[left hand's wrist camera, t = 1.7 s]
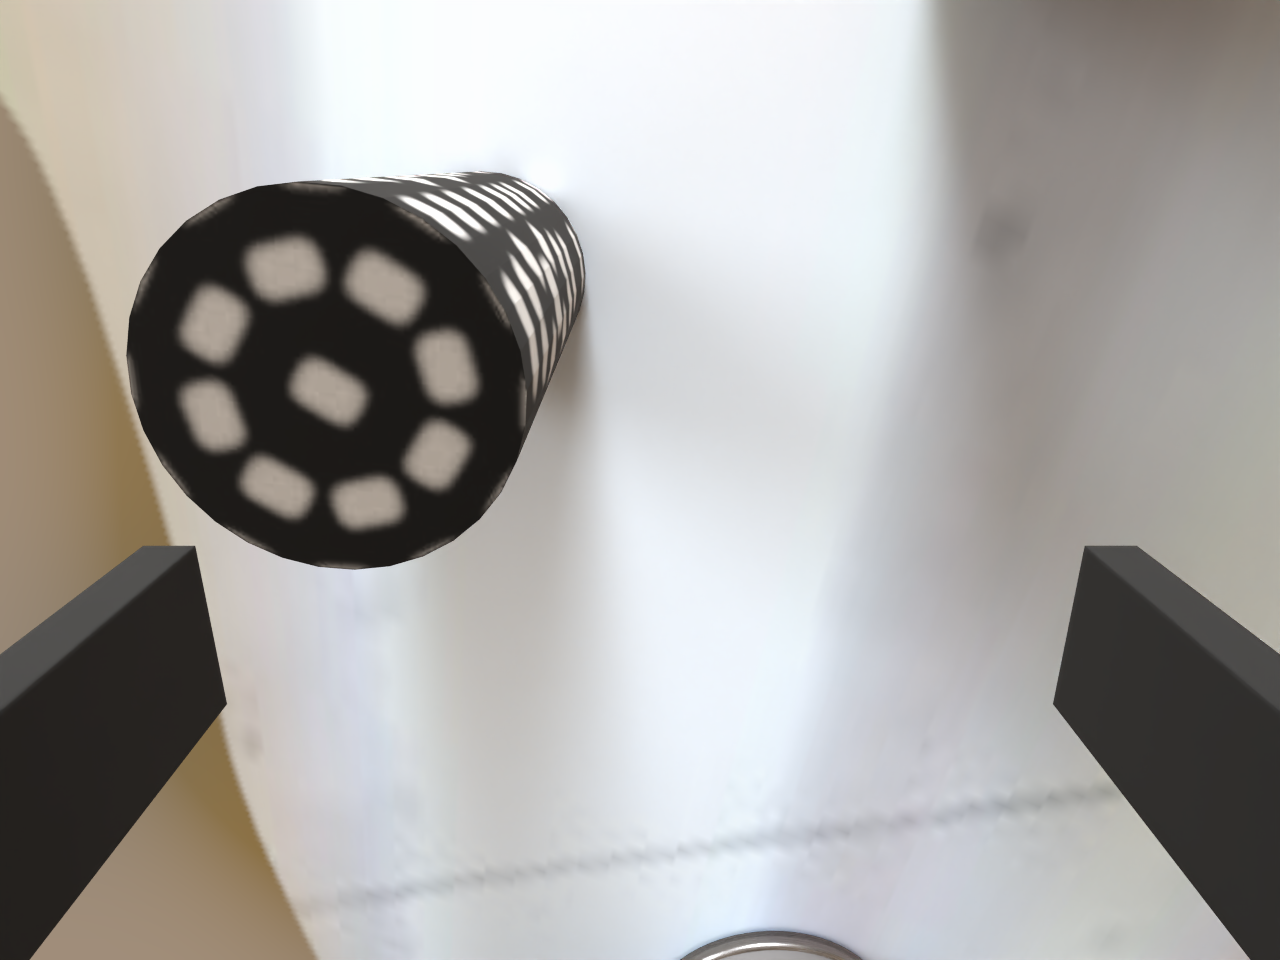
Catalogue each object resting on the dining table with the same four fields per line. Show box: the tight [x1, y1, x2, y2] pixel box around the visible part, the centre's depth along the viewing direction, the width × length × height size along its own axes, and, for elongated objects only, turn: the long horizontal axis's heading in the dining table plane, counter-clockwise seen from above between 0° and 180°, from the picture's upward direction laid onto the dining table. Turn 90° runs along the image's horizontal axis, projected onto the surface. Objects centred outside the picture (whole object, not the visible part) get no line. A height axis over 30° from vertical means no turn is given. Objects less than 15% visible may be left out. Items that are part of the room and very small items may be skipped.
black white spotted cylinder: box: [126, 171, 585, 570], centre depth 27 cm, size 8×8×20 cm
